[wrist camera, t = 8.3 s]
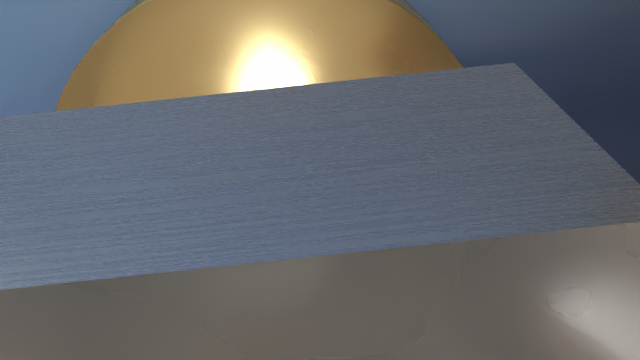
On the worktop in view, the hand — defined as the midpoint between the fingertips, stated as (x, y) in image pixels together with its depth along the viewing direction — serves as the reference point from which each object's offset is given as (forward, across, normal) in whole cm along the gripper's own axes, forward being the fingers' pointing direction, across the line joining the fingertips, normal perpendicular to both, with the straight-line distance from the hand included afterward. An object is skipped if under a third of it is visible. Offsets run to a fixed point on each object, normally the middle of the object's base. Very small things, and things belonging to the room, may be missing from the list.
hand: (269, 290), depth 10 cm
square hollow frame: (0, 0, 0) cm, 0 cm away
